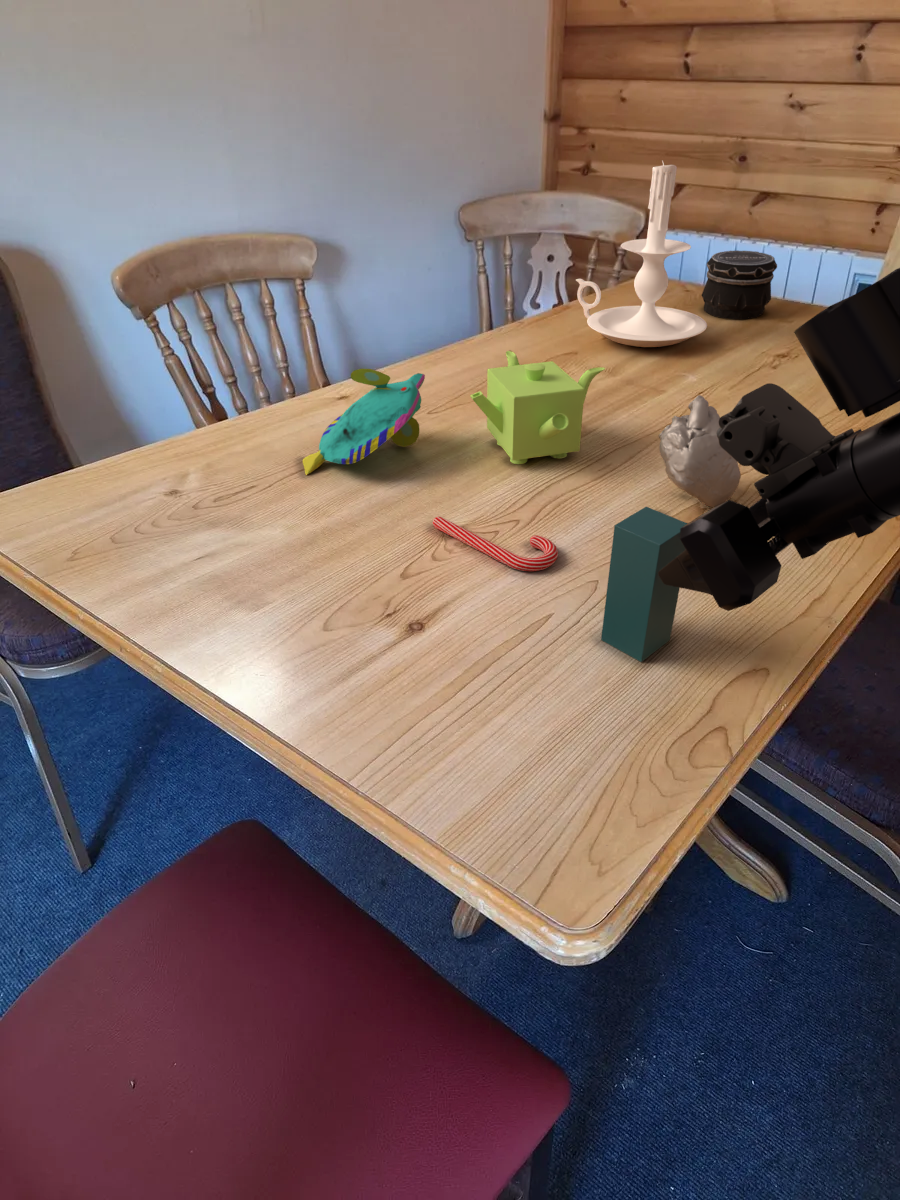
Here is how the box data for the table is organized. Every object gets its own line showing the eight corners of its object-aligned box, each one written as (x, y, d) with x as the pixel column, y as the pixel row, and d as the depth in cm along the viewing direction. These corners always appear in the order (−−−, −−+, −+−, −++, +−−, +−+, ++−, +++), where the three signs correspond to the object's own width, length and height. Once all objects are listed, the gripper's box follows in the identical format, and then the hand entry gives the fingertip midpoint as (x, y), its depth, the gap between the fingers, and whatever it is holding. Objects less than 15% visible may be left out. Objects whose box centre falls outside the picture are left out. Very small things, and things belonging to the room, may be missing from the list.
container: (721, 323, 145) (732, 267, 139) (687, 305, 155) (695, 252, 149) (781, 317, 148) (794, 261, 142) (743, 299, 158) (753, 247, 152)
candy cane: (467, 510, 90) (467, 498, 89) (569, 557, 81) (570, 545, 80) (429, 529, 87) (429, 517, 86) (531, 581, 78) (531, 568, 77)
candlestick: (600, 313, 152) (614, 149, 136) (722, 334, 140) (754, 156, 123) (544, 341, 139) (552, 163, 123) (673, 367, 127) (702, 173, 110)
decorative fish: (393, 325, 101) (422, 360, 89) (438, 402, 108) (470, 443, 96) (269, 408, 102) (280, 453, 90) (322, 478, 110) (339, 528, 98)
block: (670, 640, 70) (691, 524, 63) (641, 662, 67) (660, 545, 60) (629, 619, 72) (646, 506, 65) (600, 640, 70) (614, 525, 63)
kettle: (505, 419, 111) (508, 340, 104) (600, 437, 106) (609, 355, 99) (457, 460, 100) (456, 375, 94) (560, 483, 95) (567, 394, 88)
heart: (644, 515, 87) (680, 417, 80) (639, 476, 95) (671, 383, 87) (733, 533, 87) (776, 436, 80) (720, 493, 95) (759, 401, 87)
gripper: (880, 326, 53) (708, 430, 66) (737, 401, 43) (568, 507, 56) (961, 467, 53) (774, 543, 66) (838, 576, 43) (645, 641, 56)
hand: (695, 554), depth 61 cm, fingers open, 9 cm apart
